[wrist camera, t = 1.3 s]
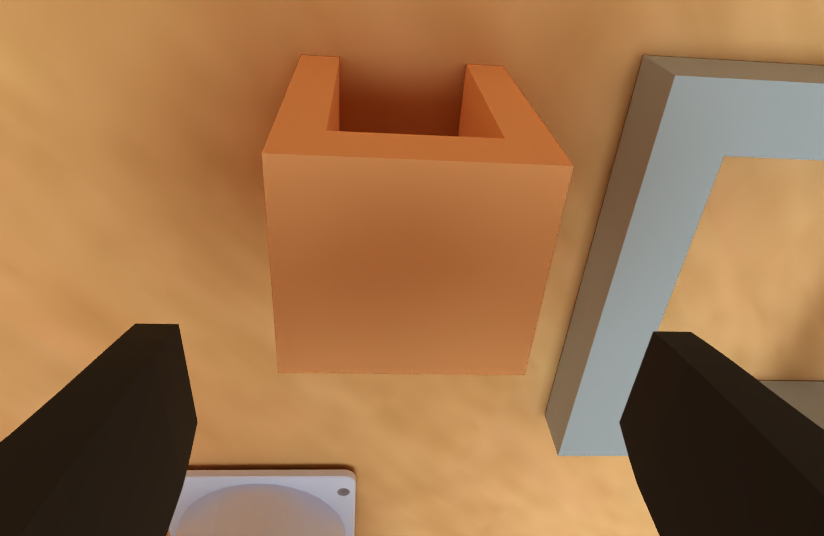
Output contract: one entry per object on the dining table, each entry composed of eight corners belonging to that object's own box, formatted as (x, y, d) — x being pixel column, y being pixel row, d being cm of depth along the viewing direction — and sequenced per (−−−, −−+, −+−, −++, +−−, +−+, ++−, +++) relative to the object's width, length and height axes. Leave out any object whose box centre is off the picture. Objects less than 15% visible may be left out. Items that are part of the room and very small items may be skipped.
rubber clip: (478, 227, 19) (524, 375, 13) (307, 221, 18) (278, 372, 13) (502, 65, 16) (573, 165, 10) (301, 54, 15) (262, 153, 10)
